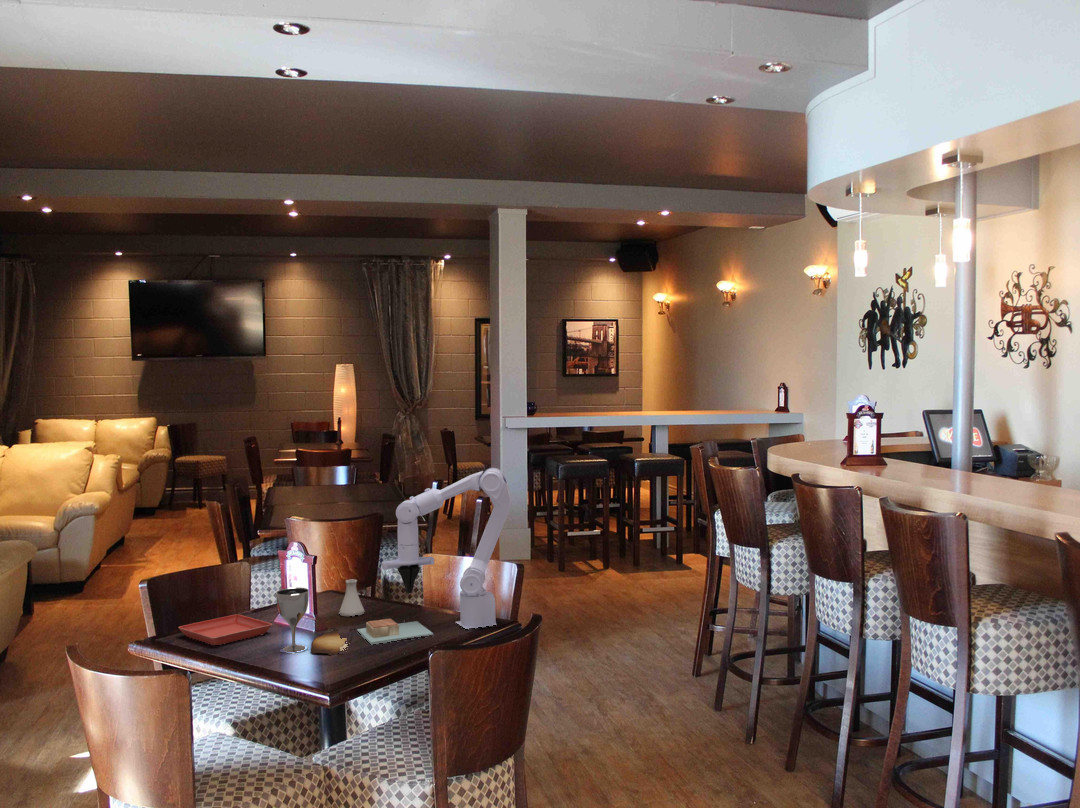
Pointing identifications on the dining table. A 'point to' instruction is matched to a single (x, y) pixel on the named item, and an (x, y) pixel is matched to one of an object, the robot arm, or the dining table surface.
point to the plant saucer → (225, 629)
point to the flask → (351, 600)
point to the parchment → (329, 643)
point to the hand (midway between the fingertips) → (408, 592)
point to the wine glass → (293, 610)
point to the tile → (382, 628)
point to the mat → (404, 632)
